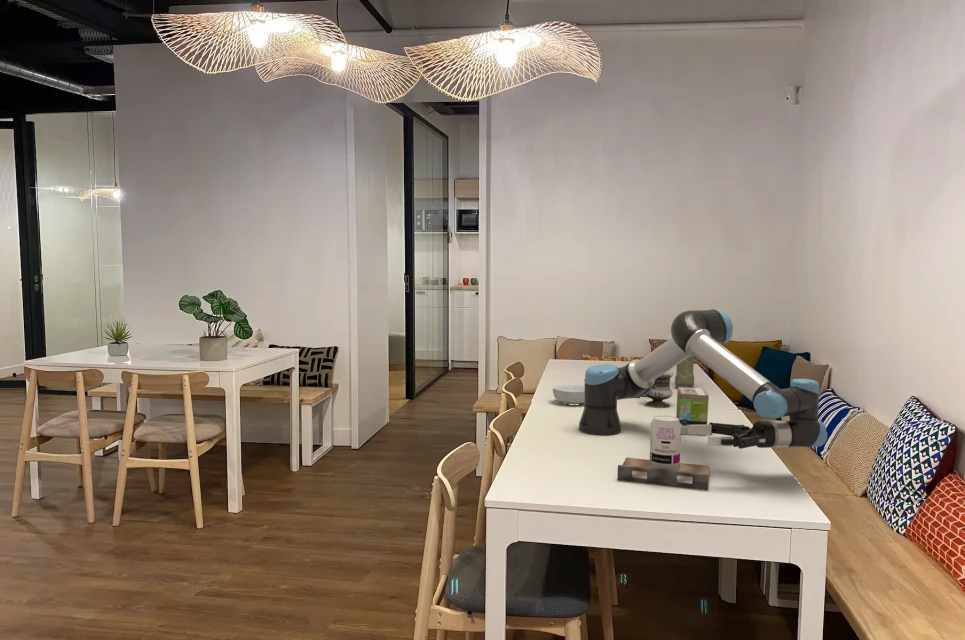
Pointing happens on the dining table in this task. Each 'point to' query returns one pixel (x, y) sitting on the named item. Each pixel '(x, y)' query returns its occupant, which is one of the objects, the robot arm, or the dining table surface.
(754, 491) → the dining table surface
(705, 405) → the tea box
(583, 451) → the dining table surface
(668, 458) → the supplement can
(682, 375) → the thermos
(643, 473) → the shelf
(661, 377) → the apothecary jar
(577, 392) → the cereal bowl
